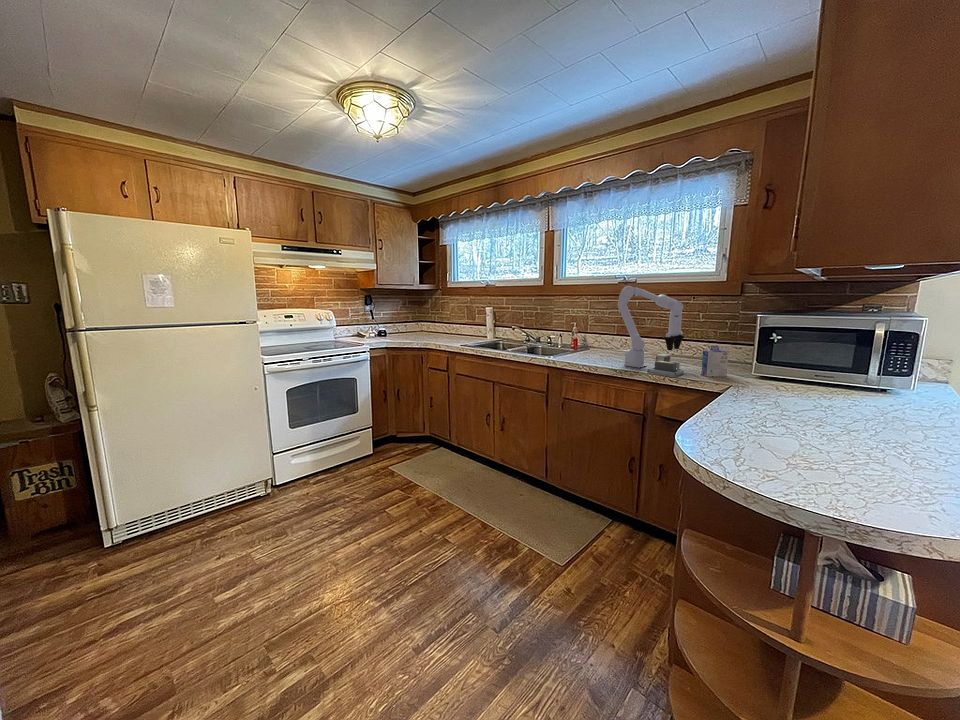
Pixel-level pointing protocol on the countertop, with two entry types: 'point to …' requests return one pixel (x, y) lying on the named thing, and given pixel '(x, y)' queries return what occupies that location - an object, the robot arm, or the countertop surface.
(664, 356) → the bay
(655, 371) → the tray
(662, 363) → the gray white block
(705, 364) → the ink cartridge box
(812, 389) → the countertop surface
